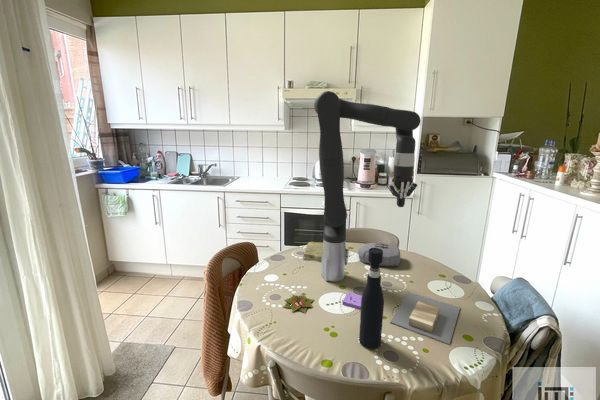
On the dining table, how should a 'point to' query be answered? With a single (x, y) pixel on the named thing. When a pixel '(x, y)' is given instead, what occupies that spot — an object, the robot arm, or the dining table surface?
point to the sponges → (352, 300)
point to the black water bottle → (372, 303)
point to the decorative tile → (314, 251)
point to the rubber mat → (442, 325)
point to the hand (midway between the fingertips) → (400, 206)
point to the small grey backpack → (389, 253)
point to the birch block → (424, 316)
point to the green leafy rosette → (301, 299)
